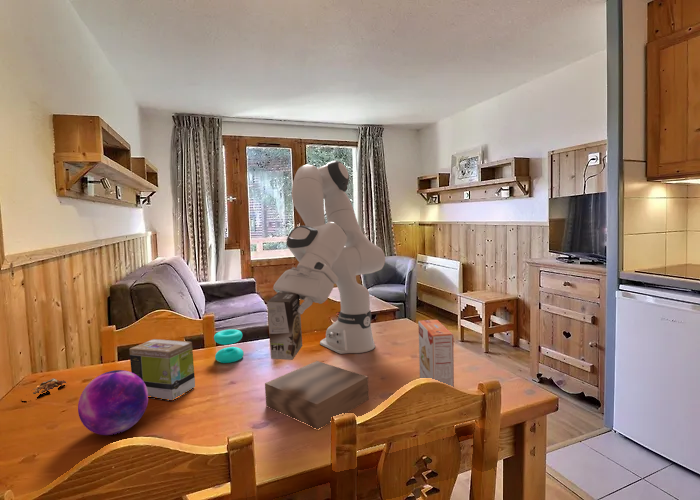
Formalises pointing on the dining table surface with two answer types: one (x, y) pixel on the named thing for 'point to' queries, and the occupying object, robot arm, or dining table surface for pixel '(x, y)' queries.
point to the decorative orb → (113, 402)
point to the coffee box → (284, 325)
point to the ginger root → (48, 385)
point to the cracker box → (436, 352)
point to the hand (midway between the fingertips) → (287, 310)
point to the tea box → (164, 367)
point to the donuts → (230, 352)
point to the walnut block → (316, 393)
